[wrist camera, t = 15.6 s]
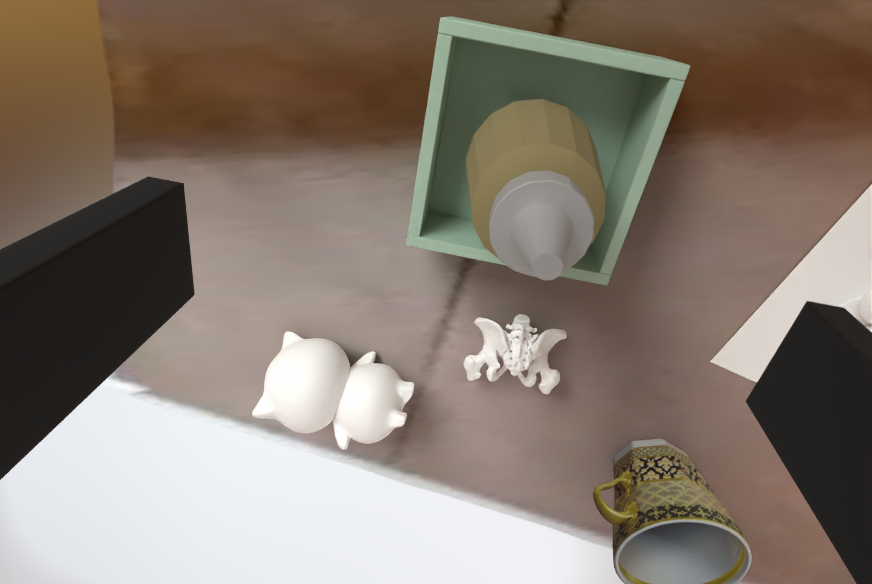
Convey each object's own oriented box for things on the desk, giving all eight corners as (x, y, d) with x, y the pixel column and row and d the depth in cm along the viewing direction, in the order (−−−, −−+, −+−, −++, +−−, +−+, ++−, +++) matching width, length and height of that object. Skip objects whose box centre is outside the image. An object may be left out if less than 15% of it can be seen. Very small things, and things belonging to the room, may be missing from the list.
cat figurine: (398, 456, 38) (239, 411, 37) (381, 473, 48) (254, 437, 47) (426, 349, 42) (284, 306, 41) (405, 384, 52) (289, 350, 51)
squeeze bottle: (513, 229, 38) (521, 383, 22) (444, 142, 36) (399, 247, 20) (611, 162, 35) (699, 287, 19) (543, 62, 32) (581, 111, 17)
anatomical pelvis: (459, 392, 42) (471, 329, 38) (463, 358, 46) (475, 297, 42) (556, 410, 42) (578, 347, 38) (553, 374, 45) (573, 314, 41)
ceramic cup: (730, 457, 47) (782, 559, 38) (652, 514, 51) (682, 616, 43) (618, 389, 45) (646, 481, 36) (547, 455, 49) (557, 551, 41)
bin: (449, 15, 32) (440, 17, 28) (662, 57, 32) (691, 65, 27) (417, 216, 39) (405, 245, 34) (594, 251, 39) (607, 286, 34)
